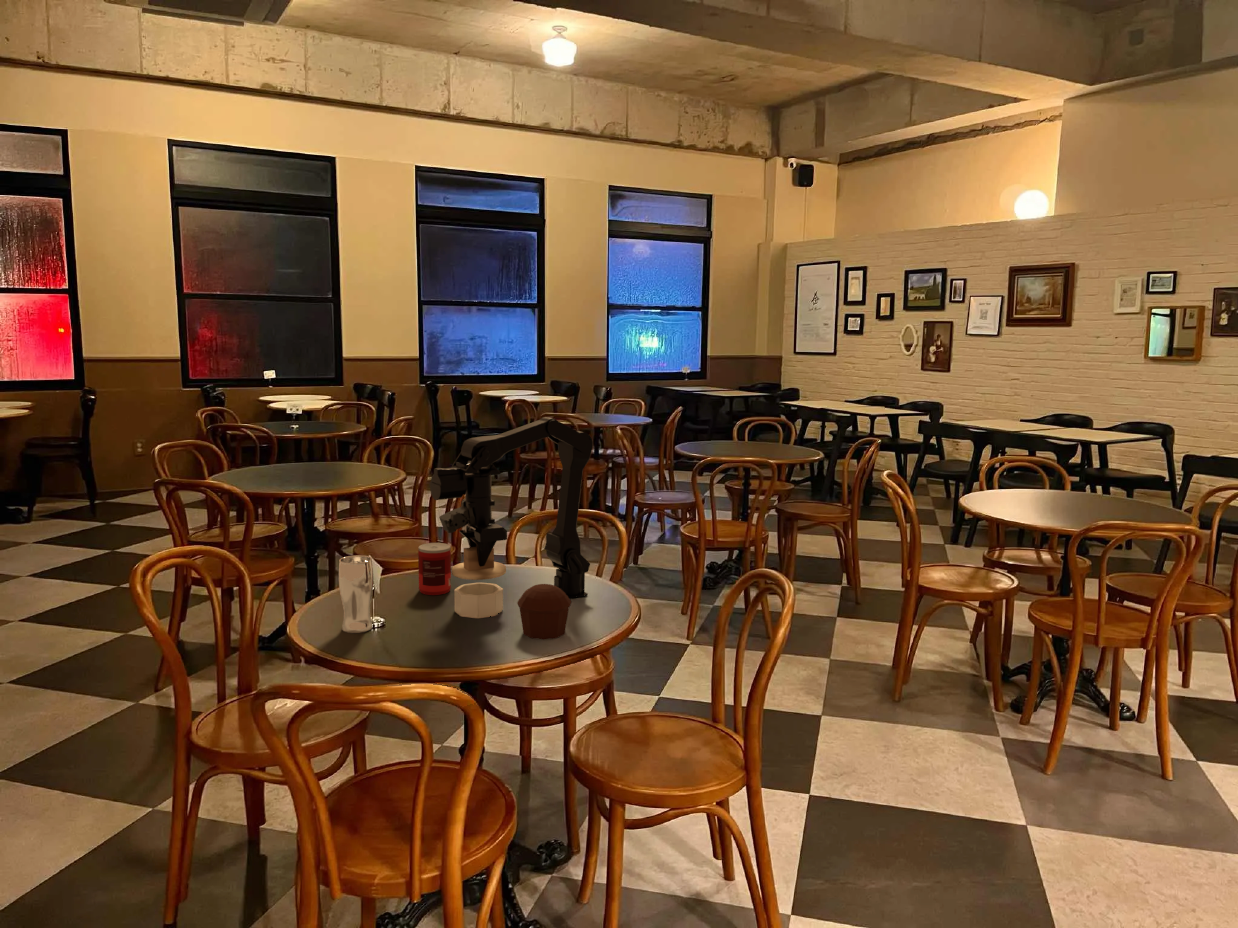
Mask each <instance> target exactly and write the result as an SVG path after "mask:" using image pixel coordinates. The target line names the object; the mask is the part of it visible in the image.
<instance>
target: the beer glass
mask: <svg viewBox="0 0 1238 928" xmlns="http://www.w3.org/2000/svg"><path fill="white" fill-rule="evenodd" d="M338 588H339V594H340V599H341V603H342V609H343V621H342V627H341V629H342V631H343V632H344V633H348V634H363V633H366V632H368V631H371V630H372V629H373V621H372V617H371V604H372V603H371V602H372V597H373V591H374V567H373V557H371V556H368V555H359V554H358V555H356V554H355V555H348V556H347V555H346V556H344V557H341V558H339V561H338Z"/></svg>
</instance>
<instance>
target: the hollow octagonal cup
mask: <svg viewBox="0 0 1238 928" xmlns="http://www.w3.org/2000/svg"><path fill="white" fill-rule="evenodd" d="M502 610H503V611H504V588H502V587H501V586H499V585H498V584H497V583H489V582H488V583H487V582H481V581H480V582H472V583H465V584H461V585H459V586H458V587H456V588H455V589H454V613H456V614H457V615H459V617H463V618H472V619H483V618H489V617H490V616H491V617H496V616H498V615H499V614H500V613H502V612H503V611H502ZM498 613H499V614H498Z"/></svg>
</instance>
